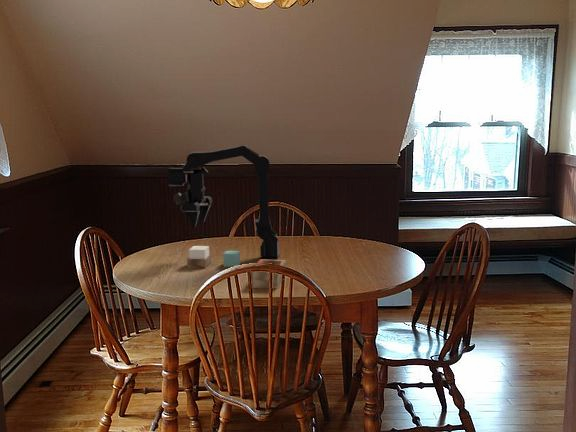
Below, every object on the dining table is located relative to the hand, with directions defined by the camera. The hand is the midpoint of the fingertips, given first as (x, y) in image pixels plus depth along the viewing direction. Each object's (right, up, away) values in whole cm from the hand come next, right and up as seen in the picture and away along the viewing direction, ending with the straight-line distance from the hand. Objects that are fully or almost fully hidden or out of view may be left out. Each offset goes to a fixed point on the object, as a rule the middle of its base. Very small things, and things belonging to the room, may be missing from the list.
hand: (198, 225), depth 231 cm
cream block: (+2, -12, -7) cm, 14 cm away
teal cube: (+14, -15, -6) cm, 21 cm away
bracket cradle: (+28, -18, -28) cm, 44 cm away
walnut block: (+2, -15, -6) cm, 16 cm away
